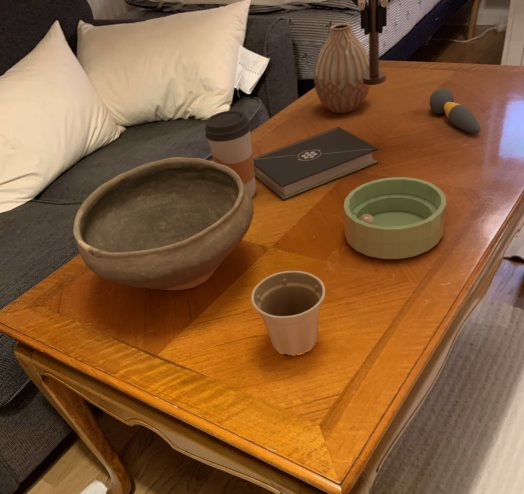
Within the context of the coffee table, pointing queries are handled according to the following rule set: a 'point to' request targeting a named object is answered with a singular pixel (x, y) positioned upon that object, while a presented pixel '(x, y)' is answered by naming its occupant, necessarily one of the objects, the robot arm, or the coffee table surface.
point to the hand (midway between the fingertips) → (373, 31)
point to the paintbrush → (454, 111)
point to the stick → (373, 47)
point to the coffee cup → (232, 144)
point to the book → (313, 162)
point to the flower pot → (290, 309)
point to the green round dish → (395, 217)
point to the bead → (367, 218)
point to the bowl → (164, 223)
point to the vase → (341, 70)
